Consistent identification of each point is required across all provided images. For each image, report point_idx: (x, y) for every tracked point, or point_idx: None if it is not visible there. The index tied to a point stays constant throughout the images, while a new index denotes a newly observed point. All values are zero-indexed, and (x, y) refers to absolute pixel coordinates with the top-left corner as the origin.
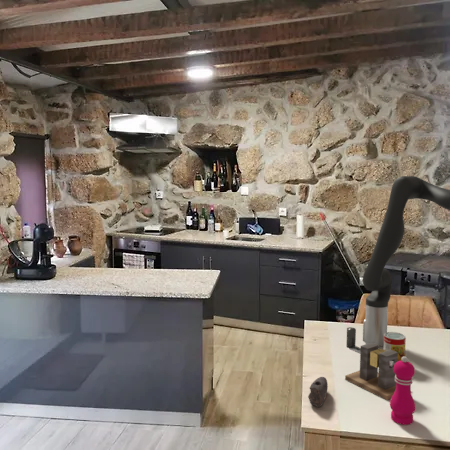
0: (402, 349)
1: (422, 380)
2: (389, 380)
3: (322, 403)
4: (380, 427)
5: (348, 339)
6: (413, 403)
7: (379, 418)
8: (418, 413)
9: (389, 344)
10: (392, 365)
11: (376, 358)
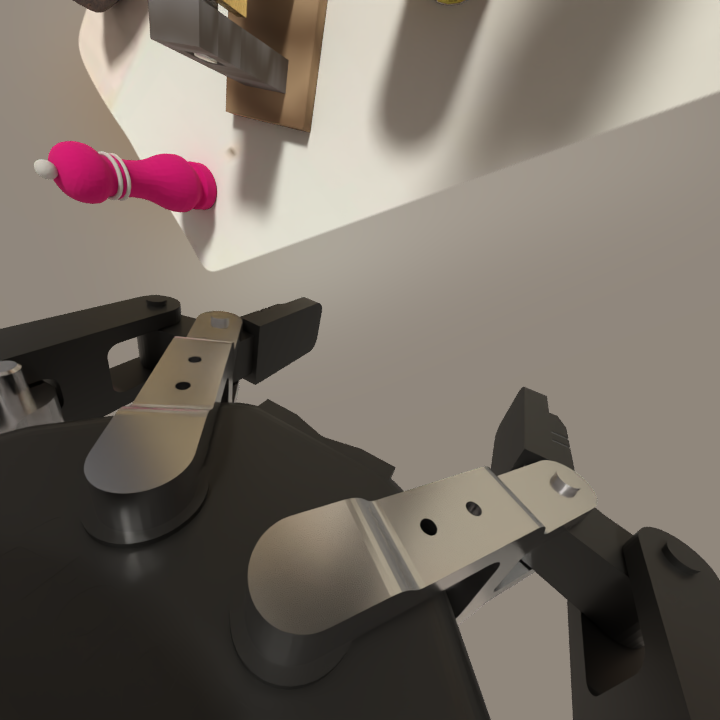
0: None
1: (393, 130)
2: (241, 79)
3: (112, 4)
4: None
5: None
6: (168, 208)
7: (176, 148)
8: (238, 204)
9: None
10: (214, 62)
11: None
